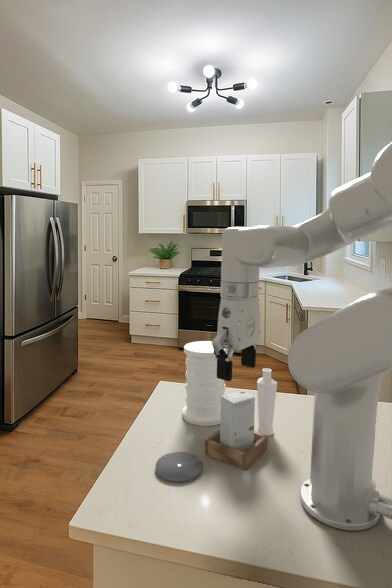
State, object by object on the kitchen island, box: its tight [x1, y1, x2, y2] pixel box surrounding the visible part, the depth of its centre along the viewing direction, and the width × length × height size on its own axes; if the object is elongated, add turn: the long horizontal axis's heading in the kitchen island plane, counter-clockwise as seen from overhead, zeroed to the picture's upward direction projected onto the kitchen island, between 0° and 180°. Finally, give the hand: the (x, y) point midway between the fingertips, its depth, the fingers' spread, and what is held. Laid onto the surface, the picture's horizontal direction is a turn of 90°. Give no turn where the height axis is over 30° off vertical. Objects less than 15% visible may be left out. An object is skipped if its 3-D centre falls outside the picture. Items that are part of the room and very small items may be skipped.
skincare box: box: [219, 390, 256, 453], centre depth 79 cm, size 6×4×12 cm
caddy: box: [204, 429, 269, 471], centre depth 80 cm, size 10×10×3 cm
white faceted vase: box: [256, 368, 278, 437], centre depth 87 cm, size 5×4×15 cm
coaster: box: [155, 451, 203, 484], centre depth 74 cm, size 9×9×1 cm
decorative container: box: [182, 340, 228, 427], centre depth 96 cm, size 12×12×18 cm
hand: (236, 372), depth 78 cm, fingers open, 9 cm apart
